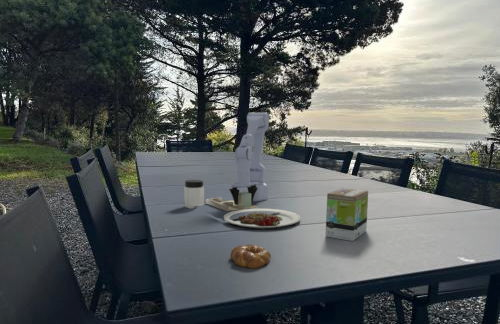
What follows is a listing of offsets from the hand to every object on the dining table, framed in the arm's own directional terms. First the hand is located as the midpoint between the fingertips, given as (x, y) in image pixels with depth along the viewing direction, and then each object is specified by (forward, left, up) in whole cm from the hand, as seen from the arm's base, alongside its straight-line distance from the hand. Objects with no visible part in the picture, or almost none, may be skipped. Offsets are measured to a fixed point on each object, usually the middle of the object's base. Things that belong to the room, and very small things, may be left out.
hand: (243, 203), depth 169 cm
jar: (+18, -14, -2) cm, 23 cm away
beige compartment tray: (+4, -4, -2) cm, 6 cm away
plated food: (+6, +24, -3) cm, 25 cm away
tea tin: (0, 0, -1) cm, 1 cm away
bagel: (+34, +60, -3) cm, 69 cm away
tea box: (-8, +55, -2) cm, 56 cm away
